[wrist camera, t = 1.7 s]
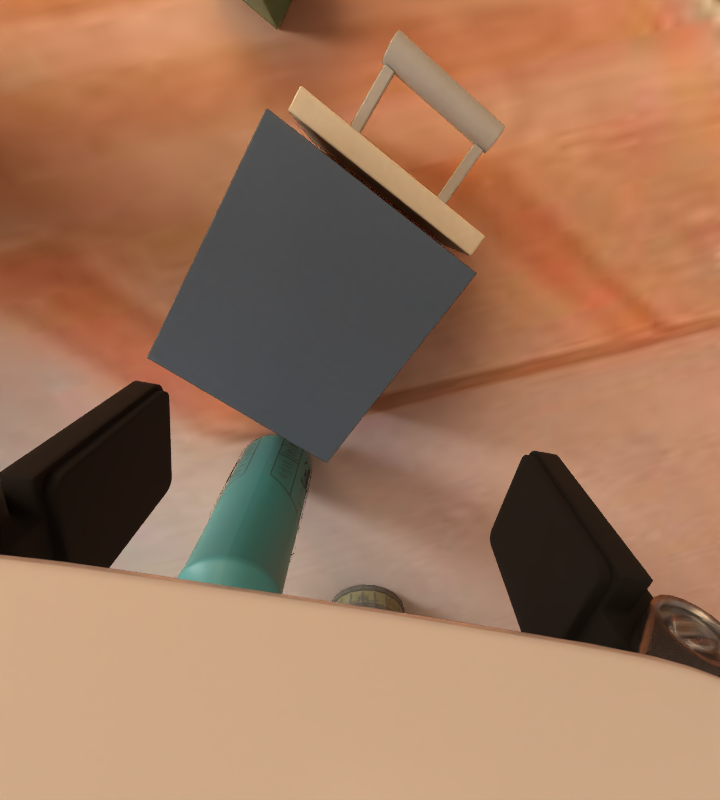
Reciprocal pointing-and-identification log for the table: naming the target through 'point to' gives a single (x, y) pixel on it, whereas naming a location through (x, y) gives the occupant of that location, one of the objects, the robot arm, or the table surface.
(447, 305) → the cabinet
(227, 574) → the beverage bottle
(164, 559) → the table surface
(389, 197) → the drawer
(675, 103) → the table surface
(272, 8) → the block
